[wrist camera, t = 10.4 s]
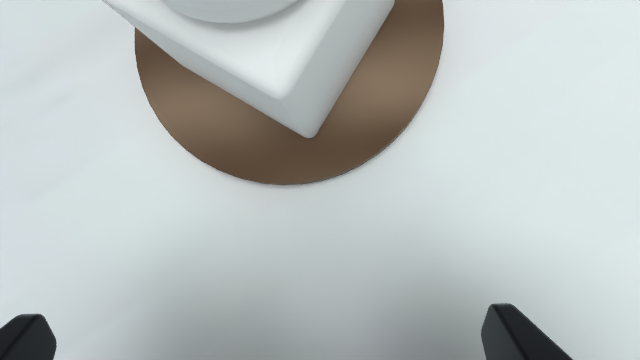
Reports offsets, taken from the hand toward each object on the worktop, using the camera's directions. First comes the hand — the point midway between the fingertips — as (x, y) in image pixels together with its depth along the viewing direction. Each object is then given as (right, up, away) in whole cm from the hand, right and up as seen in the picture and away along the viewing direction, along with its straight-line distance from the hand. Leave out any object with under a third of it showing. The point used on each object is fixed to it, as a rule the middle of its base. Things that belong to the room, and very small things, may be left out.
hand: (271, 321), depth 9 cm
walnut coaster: (-1, +10, +12) cm, 15 cm away
